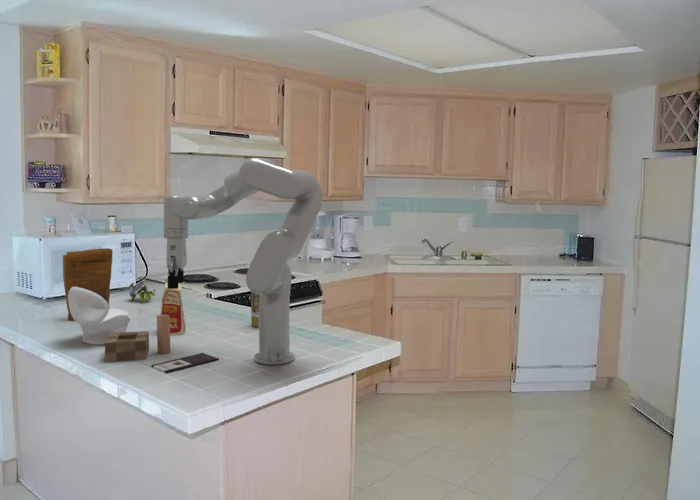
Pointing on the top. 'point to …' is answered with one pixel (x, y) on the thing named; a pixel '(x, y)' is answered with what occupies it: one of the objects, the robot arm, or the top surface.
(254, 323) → the paper tube
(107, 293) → the pancake mix bag
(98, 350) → the top surface
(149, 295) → the passion flower
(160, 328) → the peg
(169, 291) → the milk carton
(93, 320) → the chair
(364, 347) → the top surface
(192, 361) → the chocolate bar
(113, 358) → the socket block
